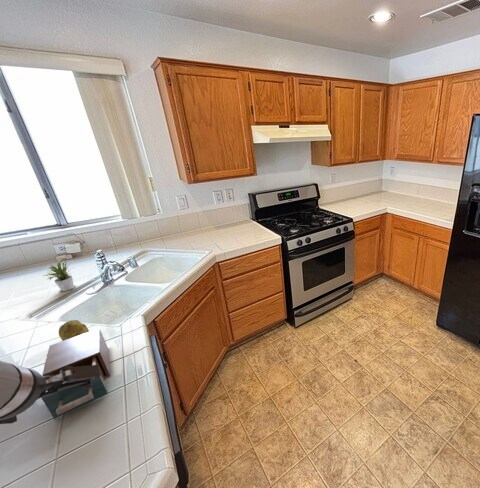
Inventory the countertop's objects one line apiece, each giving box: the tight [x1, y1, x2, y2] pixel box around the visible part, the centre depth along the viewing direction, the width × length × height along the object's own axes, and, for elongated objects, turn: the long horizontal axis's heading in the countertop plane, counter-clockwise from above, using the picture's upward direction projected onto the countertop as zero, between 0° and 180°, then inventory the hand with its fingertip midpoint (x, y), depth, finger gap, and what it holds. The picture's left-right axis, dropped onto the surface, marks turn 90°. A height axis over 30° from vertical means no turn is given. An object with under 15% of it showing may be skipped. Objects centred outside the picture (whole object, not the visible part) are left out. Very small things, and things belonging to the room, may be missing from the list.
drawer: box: [41, 356, 109, 420], centre depth 75 cm, size 19×11×8 cm, turn 40°
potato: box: [58, 319, 90, 341], centre depth 98 cm, size 8×13×8 cm, turn 45°
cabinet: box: [41, 327, 111, 379], centre depth 84 cm, size 16×13×10 cm
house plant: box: [37, 259, 75, 292], centre depth 139 cm, size 14×14×16 cm
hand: (53, 397), depth 58 cm, fingers open, 11 cm apart
